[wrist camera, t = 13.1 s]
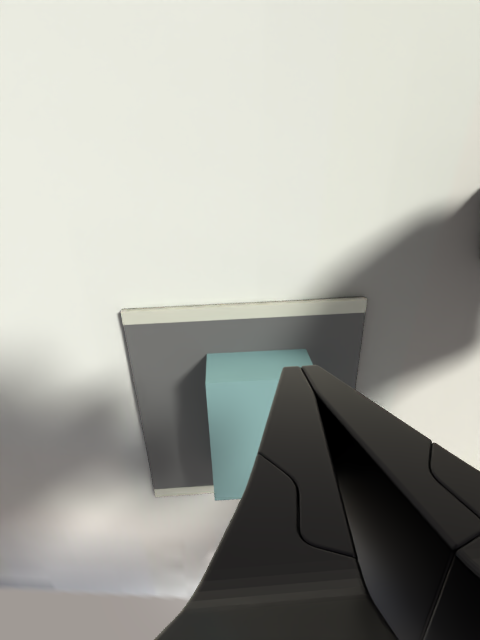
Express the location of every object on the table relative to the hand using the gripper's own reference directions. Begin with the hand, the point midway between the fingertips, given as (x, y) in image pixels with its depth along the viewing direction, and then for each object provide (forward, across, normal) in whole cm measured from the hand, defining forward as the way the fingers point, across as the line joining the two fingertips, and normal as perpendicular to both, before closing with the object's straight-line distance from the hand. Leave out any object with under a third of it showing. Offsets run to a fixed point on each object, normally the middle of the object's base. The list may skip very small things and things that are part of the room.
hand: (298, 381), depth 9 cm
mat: (+12, 0, +10) cm, 16 cm away
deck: (+10, +3, +10) cm, 15 cm away
